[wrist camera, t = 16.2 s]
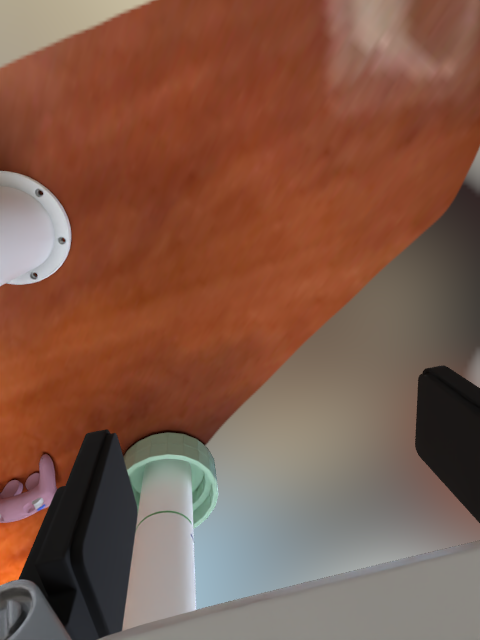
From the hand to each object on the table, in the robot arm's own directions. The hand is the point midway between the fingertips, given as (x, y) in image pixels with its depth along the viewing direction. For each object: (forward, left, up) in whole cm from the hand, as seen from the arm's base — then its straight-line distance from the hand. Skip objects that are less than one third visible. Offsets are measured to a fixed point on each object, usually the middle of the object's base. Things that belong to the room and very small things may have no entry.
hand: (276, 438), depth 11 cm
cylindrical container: (+1, -34, -38) cm, 51 cm away
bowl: (+1, -34, -38) cm, 51 cm away
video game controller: (-19, -37, -38) cm, 57 cm away
